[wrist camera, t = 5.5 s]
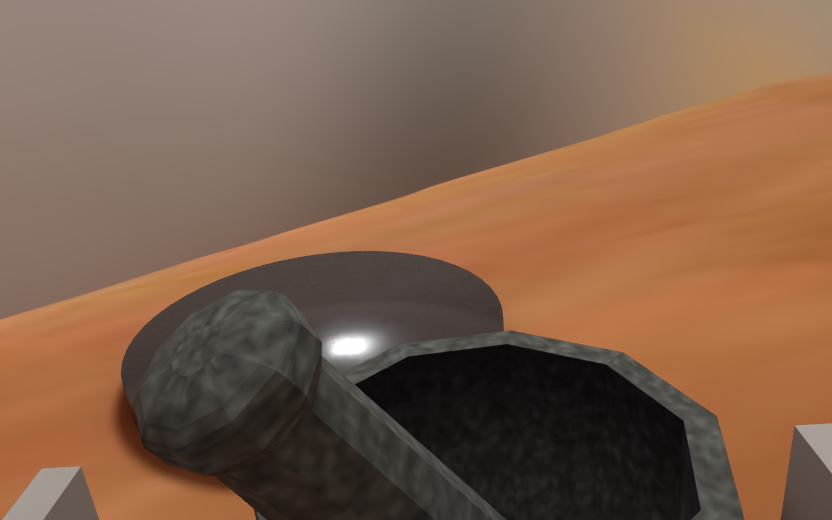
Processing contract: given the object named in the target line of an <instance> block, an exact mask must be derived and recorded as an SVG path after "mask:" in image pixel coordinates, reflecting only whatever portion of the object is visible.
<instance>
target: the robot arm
mask: <svg viewBox="0 0 832 520" xmlns="http://www.w3.org/2000/svg"><path fill="white" fill-rule="evenodd" d="M2 520H99V518H98V515H97V512H96V509H95V506H94V503H93V500H92V497H91V494H90V491H89V489H88V486H87V483H86V480H85V477H84V474H83V471H82V468H81V467H64V468H46V469H41V470H40V472H39V473H38V474H37V476H36V477H35V478H34V479H33V481H32V482H31V483H30V485H29V486H28V487H27V488H26V490H25V491H24V492H23V494H22V495H21V496H20V497H19V499H18V500H17V501H16V503H15V504H14V505H13V506H12V508H11V509H10V510H9V511H8V513H7V514H6V515H5V517H4V518H3V519H2ZM781 520H832V423H831V424H814V425H796V426H795V427H794V434H793V440H792V447H791V454H790V461H789V468H788V475H787V482H786V488H785V495H784V502H783V509H782V516H781Z"/></svg>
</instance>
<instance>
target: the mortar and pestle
mask: <svg viewBox="0 0 832 520" xmlns="http://www.w3.org/2000/svg"><path fill="white" fill-rule="evenodd" d="M134 405H135V410H136V415H137V420H138V426H139V431H140V436H141V440H142V443H143V445H144V448H146V449H147V450H148V451H150V452H151V453H152V454H154V455H155V456H157V457H158V458H159V459H161V460H162V461H163V462H165V463H166V464H168V465H171V466H174V467H178V468H181V469H185V470H188V471H192V472H195V473H198V474H202V475H205V476H212V475H215V476H216V477H217V478H219V479H220V480H221V481H222V482H223V483H224V484H226V485H227V486H228V487H229V488H230V489H231V490H233V491H234V492H235V493H236V494H237V495H238V496H240V497H241V498H242V499H243V500H244V501H245V502H247V503H248V504H249V505H250V506H251V507H252V508H254V512H255V516H256V520H744V516H743V512H742V509H741V505H740V501H739V497H738V494H737V490H736V486H735V482H734V478H733V475H732V471H731V467H730V463H729V460H728V456H727V452H726V448H725V445H724V441H723V437H722V433H721V430H720V426H719V422H718V418H717V416H716V415H714V414H713V413H711V412H710V411H708V410H707V409H705V408H704V407H702V406H701V405H699V404H698V403H697V402H695V401H694V400H692V399H691V398H689V397H688V396H686V395H685V394H683V393H682V392H680V391H679V390H678V389H676V388H675V387H673V386H672V385H670V384H669V383H667V382H666V381H664V380H663V379H661V378H660V377H658V376H657V375H656V374H654V373H653V372H651V371H650V370H648V369H647V368H645V367H644V366H642V365H641V364H639V363H638V362H636V361H635V360H634V359H632V358H631V357H629V356H628V355H626V354H625V353H623V352H618V351H612V350H607V349H602V348H597V347H592V346H587V345H582V344H577V343H571V342H566V341H561V340H556V339H551V338H546V337H541V336H536V335H530V334H525V333H520V332H515V331H503V332H495V333H486V334H478V335H470V336H462V337H454V338H446V339H438V340H430V341H422V342H414V343H406V344H398V345H396V346H394V347H392V348H390V349H388V350H386V351H384V352H382V353H380V354H378V355H376V356H374V357H372V358H370V359H368V360H366V361H364V362H362V363H360V364H359V365H357V366H355V367H353V368H351V369H349V370H347V371H345V372H343V373H341V372H340V371H338V370H337V369H336V368H335V367H334V366H333V365H332V364H331V363H329V362H328V361H327V360H326V359H325V358H324V357H323V356H322V341H321V340H320V338H319V337H318V335H317V334H316V332H315V331H314V329H313V328H312V327H311V325H310V324H309V322H308V321H307V319H306V318H305V316H304V315H303V313H302V312H301V311H300V310H299V309H298V308H297V307H296V306H295V305H294V304H293V303H292V302H291V301H290V300H289V299H288V298H287V297H286V296H285V295H284V294H283V293H280V292H276V291H263V290H238V289H237V290H235V291H234V292H232V293H230V294H228V295H226V296H224V297H222V298H220V299H219V300H217V301H215V302H213V303H211V304H209V305H207V306H205V307H204V308H202V309H200V310H198V311H196V312H194V313H192V314H191V315H189V316H188V318H187V319H186V320H185V321H184V322H183V323H182V324H181V325H180V326H179V327H178V328H177V329H176V330H175V331H174V332H173V333H172V335H171V336H170V337H169V338H168V339H167V340H166V341H165V342H164V343H163V344H162V345H161V346H160V347H159V348H158V349H157V351H156V352H155V354H154V357H153V359H152V361H151V363H150V366H149V368H148V370H147V372H146V375H145V377H144V379H143V382H142V384H141V386H140V388H139V391H138V393H137V395H136V397H135V400H134Z"/></svg>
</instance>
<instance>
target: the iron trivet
mask: <svg viewBox="0 0 832 520" xmlns="http://www.w3.org/2000/svg"><path fill="white" fill-rule="evenodd" d="M237 289H238V290H263V291H276V292H280V293H283V294H284V295H285V296H286V297H287V298H288V299H289V300H290V301H291V302H292V303H293V304H294V305H295V306H296V307H297V308H298V309H299V310H300V311H301V312H302V313H303V315H304V316H305V318H306V319H307V321H308V322H309V324H310V325H311V327H312V328H313V329H314V331H315V332H316V334H317V335H318V337H319V338H320V340H321V341H322V356H323V357H324V358H325V359H326V360H327V361H328V362H329V363H331V364H332V365H333V366H334V367H335V368H336V369H337V370H338V371H340V372H341V373H343V372H345V371H347V370H349V369H351V368H353V367H355V366H357V365H359V364H360V363H362V362H364V361H366V360H368V359H370V358H372V357H374V356H376V355H378V354H380V353H382V352H384V351H386V350H388V349H390V348H392V347H394V346H396V345H398V344H406V343H414V342H422V341H430V340H438V339H446V338H454V337H462V336H470V335H478V334H486V333H495V332H503V331H504V326H503V313H502V306H501V304H500V302H499V299H498V297H497V295H496V294H495V293H494V292H493V290H492V289H491V288H490V286H488V285H487V284H486V283H485V282H484V281H483V280H482V279H480V278H479V277H477V276H476V275H474V274H472V273H471V272H469V271H467V270H465V269H463V268H461V267H458V266H456V265H453V264H450V263H448V262H445V261H442V260H438V259H434V258H430V257H425V256H419V255H413V254H407V253H397V252H381V251H352V252H336V253H326V254H318V255H311V256H304V257H298V258H293V259H288V260H283V261H278V262H274V263H270V264H266V265H262V266H259V267H255V268H252V269H249V270H245V271H242V272H239V273H236V274H234V275H231V276H228V277H225V278H223V279H220V280H218V281H215V282H213V283H211V284H209V285H206V286H204V287H202V288H200V289H198V290H196V291H194V292H192V293H190V294H188V295H186V296H184V297H183V298H181V299H180V300H178V301H176V302H175V303H173V304H171V305H170V306H168V307H167V308H166V309H164V310H163V311H162V312H160V313H159V314H158V315H156V316H155V317H154V318H153V319H152V320H151V321H149V322H148V323H147V324H146V325H145V326H144V327H143V328H142V329H141V330H140V332H139V333H138V334H137V335H136V336H135V337H134V339H133V340H132V342H131V344H130V345H129V347H128V349H127V350H126V353H125V356H124V359H123V361H122V369H121V377H122V382H123V387H124V390H125V394H126V397H127V400H128V404H129V407H130V410H131V414H132V417H133V419H134V421H135V423H136V425H137V427H138V429H139V426H138V420H137V415H136V410H135V405H134V400H135V397H136V395H137V393H138V391H139V388H140V386H141V384H142V382H143V379H144V377H145V375H146V372H147V370H148V368H149V366H150V363H151V361H152V359H153V357H154V354H155V352H156V351H157V349H158V348H159V347H160V346H161V345H162V344H163V343H164V342H165V341H166V340H167V339H168V338H169V337H170V336H171V335H172V333H173V332H174V331H175V330H176V329H177V328H178V327H179V326H180V325H181V324H182V323H183V322H184V321H185V320H186V319H187V318H188V316H189V315H191V314H192V313H194V312H196V311H198V310H200V309H202V308H204V307H205V306H207V305H209V304H211V303H213V302H215V301H217V300H219V299H220V298H222V297H224V296H226V295H228V294H230V293H232V292H234V291H235V290H237Z"/></svg>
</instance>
